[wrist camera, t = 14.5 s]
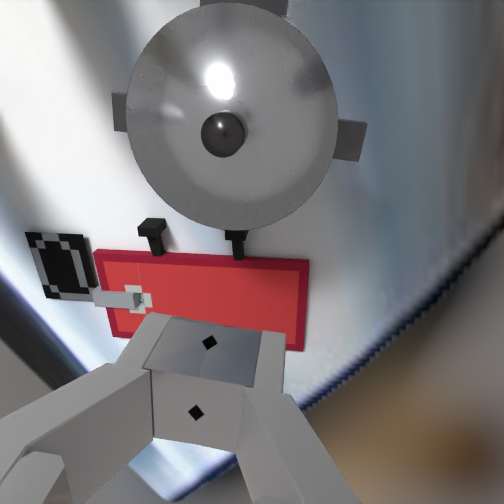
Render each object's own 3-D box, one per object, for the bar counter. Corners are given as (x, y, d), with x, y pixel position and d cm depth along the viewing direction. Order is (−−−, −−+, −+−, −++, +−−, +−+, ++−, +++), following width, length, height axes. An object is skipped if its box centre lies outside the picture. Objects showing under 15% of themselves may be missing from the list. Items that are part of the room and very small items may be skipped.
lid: (127, -5, 20) (99, -18, 17) (359, 17, 19) (367, 7, 16) (137, 211, 26) (118, 226, 23) (315, 237, 25) (317, 256, 22)
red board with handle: (25, 212, 38) (61, 325, 45) (6, 222, 35) (47, 340, 42) (311, 222, 34) (303, 342, 41) (312, 234, 32) (303, 360, 39)
